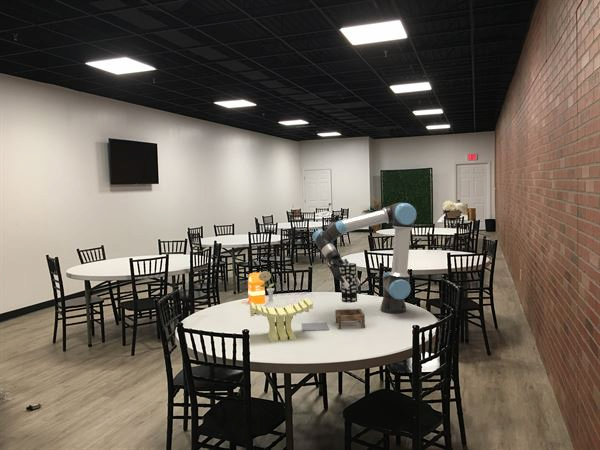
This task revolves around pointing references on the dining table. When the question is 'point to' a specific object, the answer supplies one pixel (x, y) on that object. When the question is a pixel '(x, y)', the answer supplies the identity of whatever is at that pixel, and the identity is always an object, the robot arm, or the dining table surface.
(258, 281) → the orange juice
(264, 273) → the flower in vase
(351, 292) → the spotted tube
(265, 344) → the dining table surface
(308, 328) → the mat
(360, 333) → the dining table surface
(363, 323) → the square frame stand
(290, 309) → the slatted curved stool
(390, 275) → the robot arm
